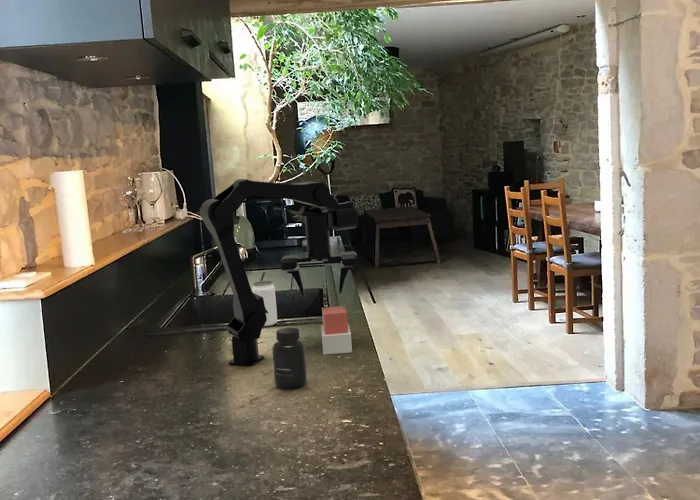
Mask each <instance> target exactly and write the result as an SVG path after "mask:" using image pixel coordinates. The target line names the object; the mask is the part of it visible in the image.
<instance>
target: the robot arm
mask: <svg viewBox="0 0 700 500" xmlns="http://www.w3.org/2000/svg"><path fill="white" fill-rule="evenodd" d="M330 190H331V189H330V188H329V186H328V184H326V183H325V182H321V181H304V182H303V181H301V182H295V183H279V182H269V181H259V180H257V181H256V180H250V179H247V178H240V179H236V180H235V181H234V182H232V184H231V185H229V186H228V187H227V188H225V189H224V190H222V191H221V192H220V193H218V194H216V196H214V197H213V198H211V199H210V198H209V199H207V200H205V201H204V202H203V203H202V204H201V206H200V208H199V214H200V218H201V220H202V221H203V223H204V225H205V227H206V228H207V230H208V231H209V233H210V235H211V236H212V237H213V239H214V241H215V244H216V246H217V250H218V252H219V255H220V259H221V262H222V263H223V264H222V265H223V267H224V271H225V273H226V276H227V279H228V282H229V285H230V288H231V292H232V295H233V297H232V298H233V301H232V307H233V314H234V316H233V317H232V319H231V320H230V321H229V323H228V324H227V325H226V331H227V333H228V334H229V335H230V336H232V337H231V347H232V357H233V359H231V360H229V361H228V365H233V366H234V365H235V366H246V367H247V366H249V367H250V366H252V367H253V366H254V365H255V364H257V363H259V362H260V361H261V360H263V359H264V358H265V355H264V354H263V355H262V354H261V355H260V354H259V345H258V344H259V342H258V340H259V339H260V338H261V337H260V336H261V334H262V329H263V328H264V327H265V326H264V325H265V323H266V321H267V317H266V313H268V311H267V310H266V308H265V305H264V300H263V297H261V296H259V295H257V294H254V293H253V292H252V287H251V284H250V282H249V278H248V276H247V272H246V269H245V266H244V263H243V260H242V257H241V254H240V250H239V248H238V245H237V241H236V237H235V218H234V213H235V212H236V211H238V209H240V207H241V206H242V205H243V204H244V202H245V200H247V198H248V197H255V198H257V197H260V198H269V199H270V198H274V199H286V200H290V201H294V202H296V203H300V204H305V205H306V206H305V205H302V206H301V207H300V209H299V210H298V211H296V216H298V217H304V223H305V235H306V236H305V237H306V239H305V240H302V241H301V243H302V244H301V245H302V246H301V248H302V249H301V250H302V253H303V254H304V255H305V254H307V257H299V256H298V254H289V255H283V257H282V258H281V260H280V262H281V263H280V265H281V266H280V267H281V268H280V269H281V270H282V271H286V274H290V275H291V276H292V277H293V279H294V281H295V282H296V285H297V286H298V289H299V291H300V293H301V295H302V297H305V287H304V283H303V279H302V278H303V277H302V272H301V267H300V266H311V265H313V266H314V265H315V266H316V265H329V264H340V265H339V266H340V267H339V269H340V270H339V283H338V291H339V293H338V294H342V292H343V288H344V284H345V280H346V277H347V276H348V273H349V270H353V269H354V266H358V265H359V263H358V262H359V261H358V260H359V259H358V254H357V252H356V251H354V250H353V251H341V252H340V255H332V250H331V249H332V248H331V242H330V240H331V239H330V238H331V236H330V228H331V230H333V231H334V232H335V231H341V230H351V229H356V228H358V224H359V222H360V221H359V215H358V211H357V209H356V208H355V206H354V201H344V202H340V203H338V202H337V201H336V199H335V198H334V196H333V195H332V194H331V191H330ZM307 205H310V206H316V207H310V208H309V207H308V206H307ZM322 209H326V210H322Z"/></svg>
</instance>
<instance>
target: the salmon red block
mask: <svg viewBox="0 0 700 500" xmlns="http://www.w3.org/2000/svg"><path fill="white" fill-rule="evenodd" d="M321 315H322V326H323V328H324V331H325V335H328V334H338V333H348V324H349V323H348V312H347V310H346V308H345V306H344V305H339V306H338V305H337V306H329V307H321Z"/></svg>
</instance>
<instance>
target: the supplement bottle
mask: <svg viewBox="0 0 700 500" xmlns="http://www.w3.org/2000/svg"><path fill="white" fill-rule="evenodd" d="M275 334H276V336H275V337H276V342H275V343H274V345H273V346H272V360H273V373H274V374H273V375H274V384H275V386H276V387H277V388H278V389H280V390H286V391H287V390H289V391H290V390H297V389H300V388H303V387H304V386H305V385H306V384H307V381H308V377H307V376H308V375H307V360H306V348H305V344H304V343H303V341H302V340H300V339H301V337H300V336H301V335H300V329H299V328H298V327H293V326H292V327H282V328H279V329H277V330H276V332H275Z"/></svg>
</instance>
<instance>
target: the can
mask: <svg viewBox="0 0 700 500" xmlns="http://www.w3.org/2000/svg"><path fill="white" fill-rule="evenodd" d="M252 285H253V286H252V287H251V290H252V292H253V293H254V294H257V295H259V296H261V297H263V300H264V305H265V308H266V310H267V311H268V313H266V317H267V321H266V323H265V325H264V326H263V327H270V326H275V325H276V324H277V323H278V312H277V311H278V309H277V301H276V291H275V289H276V288H275V286H274V284H273V281H272V280H259V281H255V282H253V283H252ZM275 323H276V324H275Z"/></svg>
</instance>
